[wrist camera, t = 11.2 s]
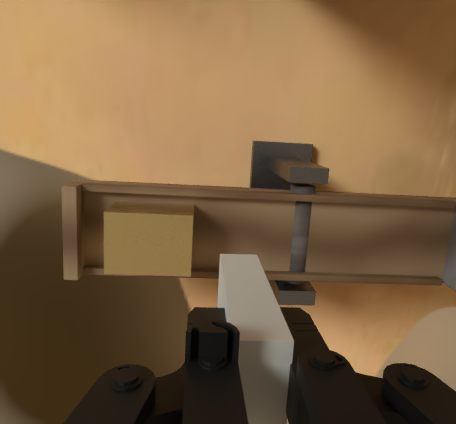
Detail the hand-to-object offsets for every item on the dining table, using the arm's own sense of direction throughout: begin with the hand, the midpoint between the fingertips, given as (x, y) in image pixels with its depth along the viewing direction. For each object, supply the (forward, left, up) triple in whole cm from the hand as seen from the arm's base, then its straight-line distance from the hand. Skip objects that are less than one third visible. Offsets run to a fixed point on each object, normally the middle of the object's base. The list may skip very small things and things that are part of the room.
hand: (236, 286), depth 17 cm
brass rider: (+2, -5, -16) cm, 17 cm away
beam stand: (+2, +7, -27) cm, 27 cm away
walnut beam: (+2, +7, -17) cm, 18 cm away
